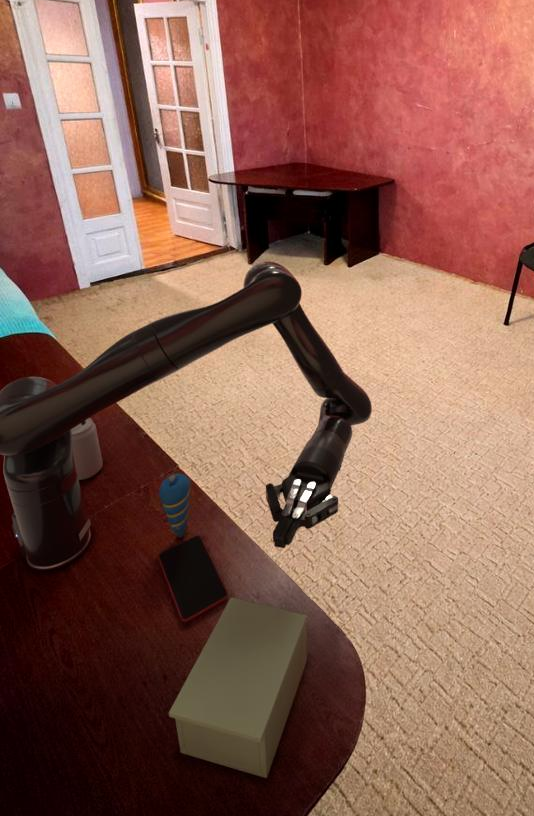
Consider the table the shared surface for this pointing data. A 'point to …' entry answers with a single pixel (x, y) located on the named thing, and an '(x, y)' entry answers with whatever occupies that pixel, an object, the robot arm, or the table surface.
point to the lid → (240, 670)
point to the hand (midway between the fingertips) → (279, 543)
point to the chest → (243, 750)
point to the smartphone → (192, 578)
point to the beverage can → (86, 449)
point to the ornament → (176, 501)
